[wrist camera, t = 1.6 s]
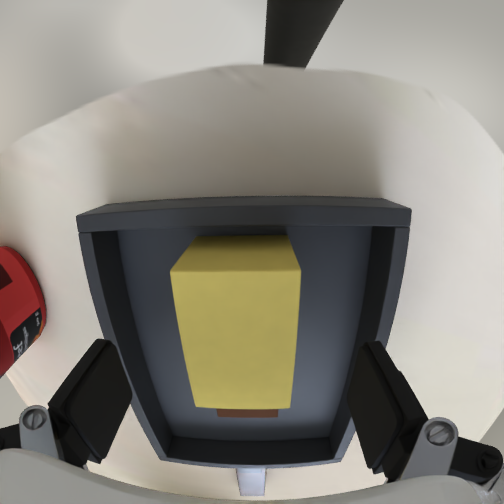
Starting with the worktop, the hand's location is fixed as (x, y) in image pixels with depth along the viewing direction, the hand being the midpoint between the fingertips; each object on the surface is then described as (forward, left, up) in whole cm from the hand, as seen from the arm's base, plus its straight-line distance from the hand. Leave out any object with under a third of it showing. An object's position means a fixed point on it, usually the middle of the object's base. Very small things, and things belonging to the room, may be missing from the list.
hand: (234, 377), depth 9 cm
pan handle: (+20, 0, -6) cm, 20 cm away
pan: (+4, 0, -6) cm, 7 cm away
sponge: (0, 0, -5) cm, 5 cm away
